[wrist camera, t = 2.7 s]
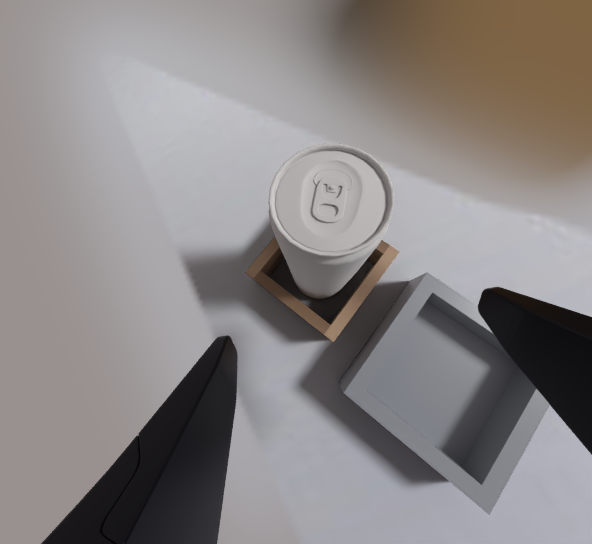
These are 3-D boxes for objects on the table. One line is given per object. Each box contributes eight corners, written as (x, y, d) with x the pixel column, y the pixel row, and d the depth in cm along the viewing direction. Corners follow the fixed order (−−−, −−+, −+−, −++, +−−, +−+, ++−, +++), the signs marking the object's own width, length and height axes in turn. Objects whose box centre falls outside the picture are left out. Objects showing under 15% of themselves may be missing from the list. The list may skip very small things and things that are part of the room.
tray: (457, 481, 16) (489, 514, 13) (338, 382, 18) (343, 392, 15) (527, 360, 18) (570, 367, 15) (410, 280, 20) (427, 272, 17)
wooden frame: (330, 339, 19) (333, 342, 16) (254, 280, 20) (245, 272, 18) (386, 262, 20) (399, 251, 17) (311, 211, 22) (311, 193, 19)
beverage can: (352, 249, 21) (405, 147, 9) (344, 304, 20) (391, 271, 8) (297, 240, 21) (279, 133, 9) (286, 293, 20) (251, 247, 8)
